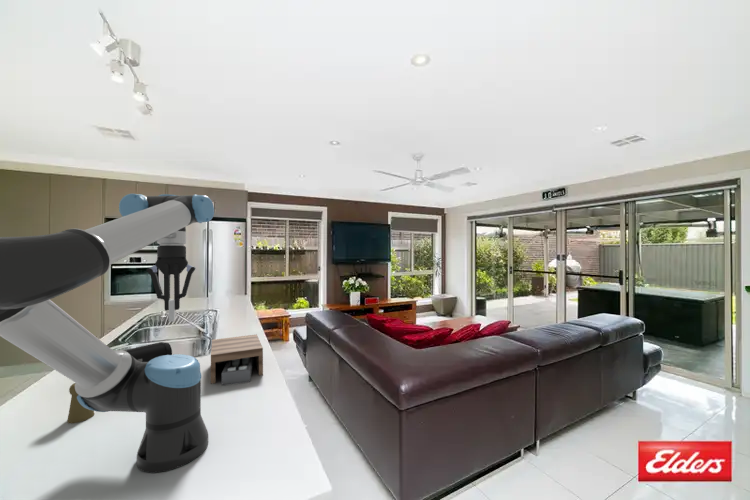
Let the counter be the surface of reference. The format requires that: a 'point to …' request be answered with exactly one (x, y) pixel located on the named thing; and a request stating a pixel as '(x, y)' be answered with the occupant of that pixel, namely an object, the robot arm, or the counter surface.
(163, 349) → the portable speaker
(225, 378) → the tray
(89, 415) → the cork
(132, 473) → the counter surface
